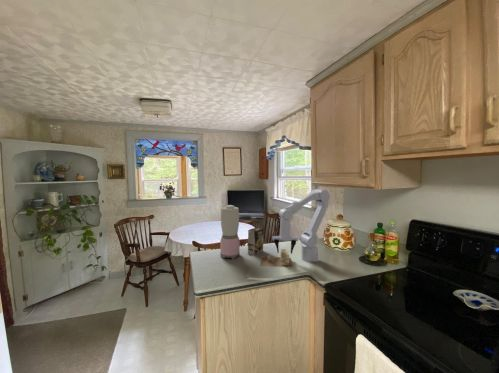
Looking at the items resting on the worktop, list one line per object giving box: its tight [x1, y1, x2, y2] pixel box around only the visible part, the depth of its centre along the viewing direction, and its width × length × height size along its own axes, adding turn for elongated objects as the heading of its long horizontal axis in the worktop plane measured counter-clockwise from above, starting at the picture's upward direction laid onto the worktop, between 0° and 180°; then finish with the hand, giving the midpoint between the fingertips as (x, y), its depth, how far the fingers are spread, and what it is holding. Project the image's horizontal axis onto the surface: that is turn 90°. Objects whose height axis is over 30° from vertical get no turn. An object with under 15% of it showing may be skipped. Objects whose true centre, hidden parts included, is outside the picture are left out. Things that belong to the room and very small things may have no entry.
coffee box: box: [247, 227, 264, 256], centre depth 144 cm, size 9×6×16 cm
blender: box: [219, 204, 241, 260], centre depth 140 cm, size 16×12×32 cm
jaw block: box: [280, 248, 290, 265], centre depth 128 cm, size 4×9×6 cm, turn 174°
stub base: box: [259, 255, 293, 268], centre depth 129 cm, size 18×13×4 cm
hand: (284, 252), depth 128 cm, fingers open, 7 cm apart
